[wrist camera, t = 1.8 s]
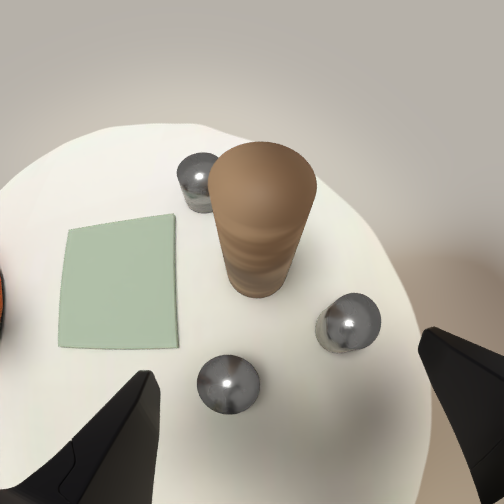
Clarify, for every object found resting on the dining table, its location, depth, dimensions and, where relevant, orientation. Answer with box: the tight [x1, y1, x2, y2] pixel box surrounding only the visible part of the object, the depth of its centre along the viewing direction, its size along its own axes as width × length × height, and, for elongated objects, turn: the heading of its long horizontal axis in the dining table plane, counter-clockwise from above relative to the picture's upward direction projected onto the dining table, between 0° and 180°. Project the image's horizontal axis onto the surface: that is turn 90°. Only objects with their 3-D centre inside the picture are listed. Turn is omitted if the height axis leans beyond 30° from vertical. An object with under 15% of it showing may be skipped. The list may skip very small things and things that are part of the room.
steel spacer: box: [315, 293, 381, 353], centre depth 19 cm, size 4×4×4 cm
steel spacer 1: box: [177, 153, 218, 213], centre depth 24 cm, size 4×4×4 cm
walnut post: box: [208, 142, 317, 298], centre depth 18 cm, size 5×5×12 cm
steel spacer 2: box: [197, 355, 260, 414], centre depth 18 cm, size 4×4×4 cm
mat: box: [58, 213, 179, 349], centre depth 22 cm, size 12×12×1 cm
